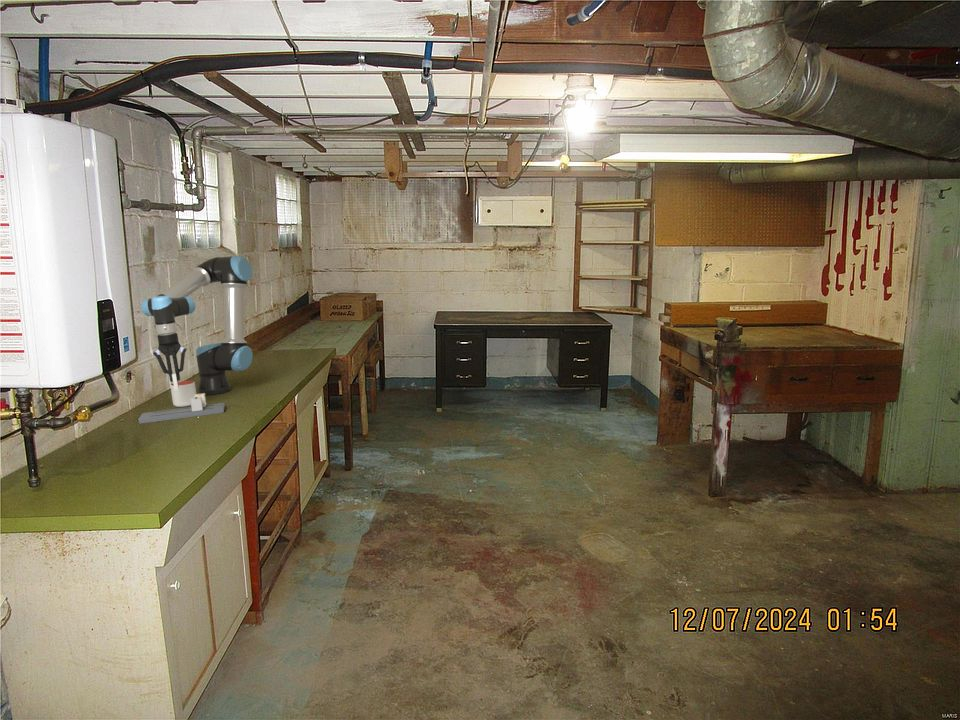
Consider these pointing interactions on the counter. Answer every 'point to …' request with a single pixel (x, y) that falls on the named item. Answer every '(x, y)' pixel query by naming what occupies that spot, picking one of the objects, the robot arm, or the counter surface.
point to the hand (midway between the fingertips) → (176, 388)
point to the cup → (183, 393)
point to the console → (180, 413)
